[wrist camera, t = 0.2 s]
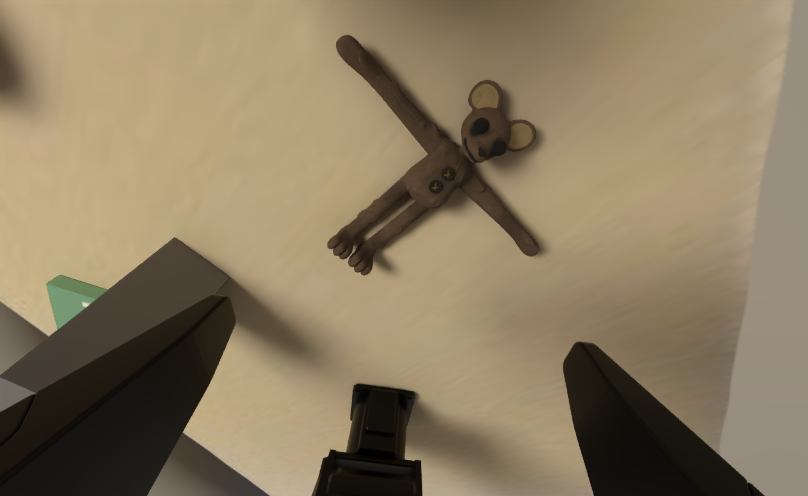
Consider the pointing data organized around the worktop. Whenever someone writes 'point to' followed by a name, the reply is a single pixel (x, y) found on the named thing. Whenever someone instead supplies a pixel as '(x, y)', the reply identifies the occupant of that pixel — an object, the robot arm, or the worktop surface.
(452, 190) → the brown clay figure
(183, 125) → the worktop surface
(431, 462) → the worktop surface
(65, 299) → the header board
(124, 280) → the grey rectangular block
